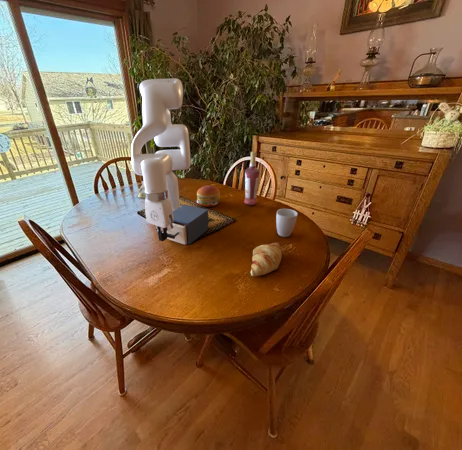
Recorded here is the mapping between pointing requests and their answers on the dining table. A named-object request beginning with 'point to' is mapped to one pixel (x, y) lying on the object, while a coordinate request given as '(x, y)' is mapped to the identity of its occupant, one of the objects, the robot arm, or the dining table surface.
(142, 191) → the ceramic model
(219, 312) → the dining table surface
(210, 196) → the burger
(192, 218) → the cabinet
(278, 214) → the cup
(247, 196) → the liquor
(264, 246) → the croissant
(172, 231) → the drawer
